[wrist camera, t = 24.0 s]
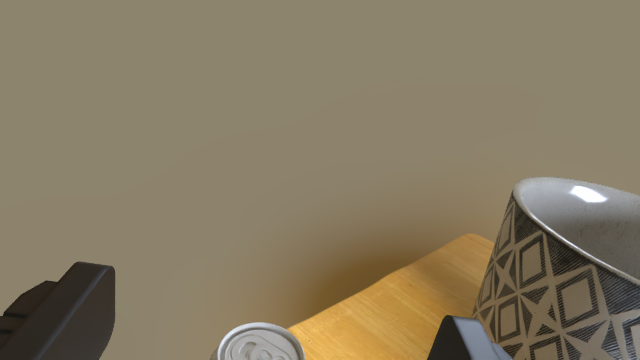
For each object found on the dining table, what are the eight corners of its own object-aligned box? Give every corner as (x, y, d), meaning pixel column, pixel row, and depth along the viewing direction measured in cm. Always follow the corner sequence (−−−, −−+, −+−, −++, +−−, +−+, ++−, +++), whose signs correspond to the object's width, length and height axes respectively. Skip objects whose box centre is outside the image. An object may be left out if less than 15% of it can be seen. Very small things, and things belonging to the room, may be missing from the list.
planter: (400, 378, 45) (466, 198, 37) (502, 298, 63) (562, 164, 55) (695, 640, 29) (932, 425, 21) (720, 434, 47) (853, 273, 38)
